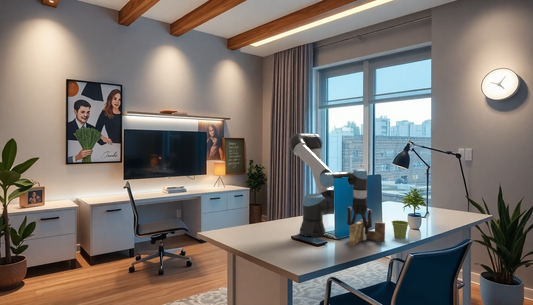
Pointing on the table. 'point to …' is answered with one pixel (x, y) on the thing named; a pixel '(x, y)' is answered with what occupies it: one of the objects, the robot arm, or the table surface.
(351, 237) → the oak board
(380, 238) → the wooden u-shaped block
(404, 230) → the plant pot
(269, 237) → the table surface
